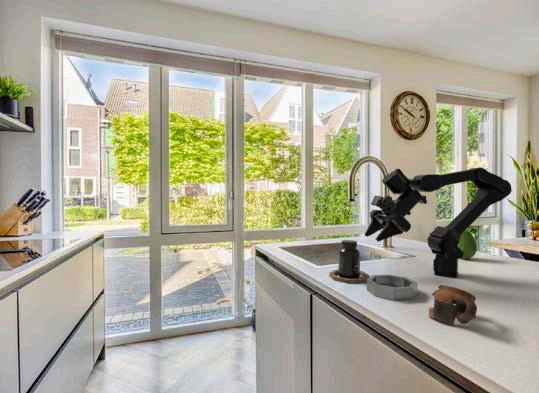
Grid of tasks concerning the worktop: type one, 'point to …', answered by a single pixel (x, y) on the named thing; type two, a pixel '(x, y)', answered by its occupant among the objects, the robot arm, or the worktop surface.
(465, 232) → the avocado
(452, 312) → the pottery mug
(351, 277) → the supplement bottle
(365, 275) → the walnut ring
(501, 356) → the worktop surface
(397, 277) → the hub socket
